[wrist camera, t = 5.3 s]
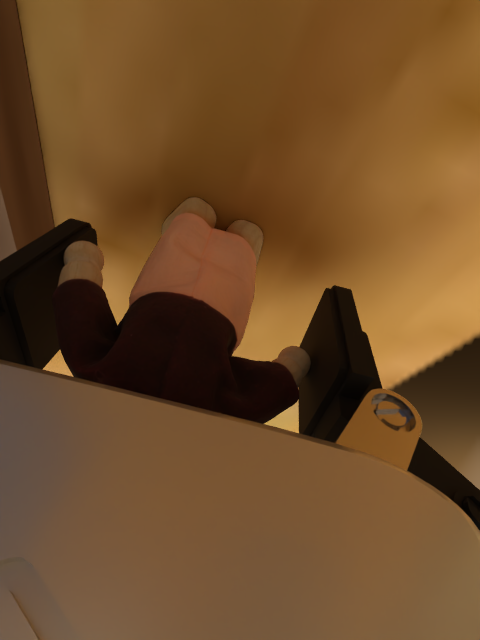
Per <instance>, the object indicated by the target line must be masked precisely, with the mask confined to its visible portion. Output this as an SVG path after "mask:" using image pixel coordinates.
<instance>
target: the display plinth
mask: <svg viewBox="0 0 480 640" xmlns="http://www.w3.org/2000/svg"><path fill="white" fill-rule="evenodd" d="M53 228H54V223H53V218H52V212H51V206H50V200H49V194H48V188H47V182H46V177H45V171H44V165H43V159H42V153H41V147H40V141H39V135H38V130H37V124H36V118H35V112H34V106H33V100H32V94H31V88H30V83H29V77H28V71H27V65H26V59H25V53H24V47H23V42H22V36H21V30H20V24H19V18H18V12H17V6H16V0H0V261H1V260H3V259H5V258H6V257H8V256H9V255H11V254H13V253H14V252H16V251H18V250H19V249H21V248H22V247H24V246H26V245H27V244H29V243H31V242H32V241H34V240H36V239H37V238H39V237H40V236H42V235H44V234H45V233H47V232H49V231H50V230H52V229H53Z"/></svg>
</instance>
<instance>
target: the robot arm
mask: <svg viewBox="0 0 480 640" xmlns="http://www.w3.org/2000/svg"><path fill="white" fill-rule="evenodd" d="M77 241H88V242H91V243H93V244H95V245H96V246H97V234H96V231H95V229H93V228H92V227H91V225H90V224H89V223H87V222H83V221H79V220H75V219H68V220H67V221H65V222H63V223H62V224H60V225H58V226H57V227H55V228H53V229H52V230H50V231H49V232H47V233H45V234H44V235H42V236H40V237H39V238H37V239H36V240H34V241H32V242H31V243H29V244H27V245H26V246H24V247H22V248H21V249H19V250H18V251H16V252H14V253H13V254H11V255H9V256H8V257H6V258H5V259H3V260H1V261H0V640H480V490H479V489H478V488H476V487H475V486H474V485H473V484H472V483H471V482H470V481H469V480H467V479H466V478H465V477H464V476H463V475H462V474H461V473H460V472H458V471H457V470H456V469H455V468H454V467H453V466H452V465H451V464H449V463H448V462H447V461H446V460H445V459H444V458H443V457H442V456H440V455H439V454H438V453H437V452H436V451H435V450H434V449H433V448H431V447H430V446H429V445H428V444H427V443H426V442H425V441H424V440H422V439H421V438H420V437H419V436H420V433H421V431H422V421H421V418H420V416H419V414H418V412H417V411H416V409H415V408H414V407H413V406H412V405H411V404H410V403H409V402H408V401H407V400H406V399H404V398H403V397H402V396H400V395H398V394H396V393H395V392H393V391H390V390H386V389H382V385H381V382H380V378H379V375H378V371H377V368H376V364H375V361H374V357H373V354H372V350H371V347H370V343H369V340H368V336H367V334H366V333H365V332H363V331H362V328H361V325H360V321H359V317H358V313H357V310H356V306H355V302H354V299H353V295H352V291H351V289H347V288H343V287H339V286H335V285H334V286H333V287H332V288H331V289H329V288H326V289H325V291H324V293H323V295H322V298H321V300H320V302H319V304H318V306H317V309H316V311H315V313H314V315H313V318H312V320H311V322H310V324H309V327H308V329H307V331H306V333H305V336H304V338H303V340H302V342H301V345H300V348H302V349H303V350H305V351H306V353H307V354H308V355H309V357H310V361H311V365H310V369H309V371H308V373H307V374H306V375H305V376H304V377H302V380H301V383H300V385H299V433H295V432H292V431H288V430H284V429H281V428H277V427H273V426H269V425H265V424H261V423H257V422H253V421H249V420H245V419H241V418H237V417H233V416H229V415H225V414H221V413H217V412H213V411H209V410H205V409H201V408H197V407H193V406H189V405H185V404H181V403H177V402H173V401H169V400H165V399H161V398H157V397H153V396H149V395H145V394H141V393H137V392H133V391H129V390H124V389H120V388H116V387H112V386H108V385H104V384H100V383H96V382H92V381H88V380H84V379H80V378H75V377H71V376H67V375H63V374H59V373H55V372H50V371H46V370H42V369H43V368H44V367H45V366H46V365H47V363H48V362H49V361H50V360H51V359H52V358H53V357H54V355H55V354H56V353H57V352H58V351H59V350H60V347H59V344H58V339H57V333H56V324H55V316H54V309H53V304H52V295H53V293H54V291H55V290H56V288H57V287H58V283H59V277H60V273H61V270H62V269H63V267H64V266H65V264H64V258H63V257H64V253H65V250H66V249H67V247H68V246H69V245H71V244H72V243H74V242H77ZM97 247H98V246H97Z"/></svg>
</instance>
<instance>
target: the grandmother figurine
mask: <svg viewBox="0 0 480 640" xmlns="http://www.w3.org/2000/svg"><path fill="white" fill-rule="evenodd" d="M215 224H216V214H215V212H214V210H213V208H212V207H211V206H210V205H209V204H207V203H206V202H205V201H203V200H202V199H200V198H197V197H192V198H188V199H186V200H185V201H184V202H183V203H181V204H180V205H179V206H178V207H177V208H176V209H175V210H174V211H173V212H172V213H171V214H170V215H169V216H168V217H167V219H166V220H165V221H164V223H163V225H162V237H161V238H160V240H159V241H158V243H157V245H156V246H155V248H154V250H153V251H152V253H151V255H150V257H149V258H148V260H147V262H146V264H145V265H144V267H143V269H142V271H141V273H140V275H139V277H138V279H137V281H136V283H135V285H134V287H133V289H132V291H131V294H130V297H129V309H128V311H127V313H126V314H125V315H124V317H123V319H122V321H121V322H120V323H119V324H118V326H117V323H116V321H115V318H114V316H113V313H112V311H111V309H110V306H109V304H108V300H107V298H106V294H105V292H104V290H103V289H102V284H103V278H102V273H101V270H102V269H103V266H104V256H103V253H102V251H101V250H100V249H99V247H97V246H96V245H95V244H93V243H91V242H88V241H77V242H74V243H72V244H71V245H69V246H68V247H67V249H66V250H65V253H64V257H63V258H64V264H65V266H64V267H63V269H62V270H61V273H60V277H59V283H58V287H57V288H56V290H55V291H54V293H53V295H52V304H53V309H54V316H55V324H56V333H57V339H58V344H59V347H60V350H61V353H62V355H63V358H64V360H65V362H66V364H67V366H68V367H69V369H70V371H71V373H72V374H73V376H74V377H75V378H80V379H84V380H88V381H92V382H96V383H100V384H104V385H108V386H112V387H116V388H120V389H124V390H129V391H133V392H137V393H141V394H145V395H149V396H153V397H157V398H161V399H165V400H169V401H173V402H177V403H181V404H185V405H189V406H193V407H197V408H201V409H205V410H209V411H213V412H217V413H221V414H225V415H229V416H233V417H237V418H241V419H245V420H249V421H253V422H257V423H261V424H264V423H266V422H268V421H269V420H271V419H272V418H274V417H276V416H277V415H278V414H280V413H281V412H283V411H284V410H286V409H288V408H289V407H291V406H292V405H294V404H295V403H296V402H297V401H298V399H299V390H298V387H299V385H300V383H301V380H302V377H304V376H305V375H306V374H307V373H308V371H309V369H310V365H311V361H310V357H309V355H308V354H307V353H306V351H305V350H303V349H302V348H300V347H297V346H290V347H287V348H285V349H283V350H282V351H281V353H280V354H279V356H278V358H277V359H275V360H273V361H272V362H270V361H254V360H249V359H245V358H241V357H234V356H232V354H233V352H234V351H235V350H236V348H237V347H238V346H239V345H240V343H241V340H242V338H243V335H244V332H245V329H246V326H247V322H248V319H249V314H250V310H251V306H252V302H253V298H254V292H255V273H256V266H257V263H258V260H259V256H260V252H261V248H262V244H263V233H262V231H261V229H260V228H259V227H258V226H257V225H255V224H253V223H251V222H248V221H245V220H238V221H235V222H233V223H232V224H231V225H230V226H229V227H228V229H227V230H226V232H225V231H222V230H219V229H214V227H215Z"/></svg>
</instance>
